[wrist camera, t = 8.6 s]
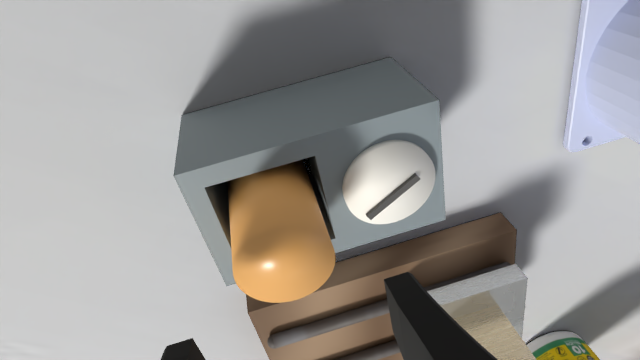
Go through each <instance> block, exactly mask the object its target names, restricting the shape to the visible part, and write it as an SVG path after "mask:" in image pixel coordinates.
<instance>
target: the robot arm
mask: <svg viewBox="0 0 640 360" xmlns="http://www.w3.org/2000/svg"><path fill="white" fill-rule="evenodd" d="M585 137H586V138H585ZM624 137H628V138H630V139H632V140H633V141H635V142H637V143H638V144H640V0H582V5H581V12H580V20H579V28H578V35H577V43H576V50H575V58H574V66H573V73H572V81H571V89H570V96H569V104H568V111H567V119H566V127H565V134H564V142H563V145H564V148H565V149H567V150H568V151H569V152H577V151H581V150H584V149H587V148H591V147H594V146H597V145H601V144H604V143H607V142H611V141H614V140H617V139H621V138H624ZM384 284H385V290H386V295H387V301H388V307H389V312H390V318H391V324H392V329H393V333H394V336H395V338H396V341H397V344H398V346H399V349H400V352H401V354H402V357H403V359H404V360H498V359H497V358H495V357H494V356H493V355H492V354H491V353H490V352H488V351H487V350H486V349H485V348H484V347H483V346H482V345H481V344H479V343H478V342H477V341H476V340H475V339H474V338H473V337H472V336H471V335H470V334H469V333H468V332H467V331H466V330H464V329H463V328H462V327H461V326H460V325H459V324H458V323H457V322H456V321H455V320H454V319H453V318H452V317H451V316H450V315H449V314H448V313H447V312H446V311H445V310H444V309H443V308H442V307H441V306H440V305H439V304H438V303H437V302H436V301H435V300H434V298H433V297H432V296H431V295H430V294H429V293H428V292H427V291H426V290H425V289H424V287H423V286H422V285H421V284H420V283H419V282H418V280H417V279H416V278H415V277H414V276H413V274H411V273H409V272H405V273H402V274H399V275H396V276H392V277H389V278H386V279H384ZM161 360H205V358H204V357H203V355H202V353H201V352H200V350H199V348H198V347H197V345H196V343H195V342H194V340H193V338H192V339H188V340H185V341H182V342H179V343H175V344H172V345H169V346H167V347H166V349H165V350H164V353H163V355H162V358H161Z"/></svg>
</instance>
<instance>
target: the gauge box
mask: <svg viewBox="0 0 640 360" xmlns="http://www.w3.org/2000/svg"><path fill="white" fill-rule="evenodd" d="M305 158H308V160H309V164H310V168H311V172H312V174H311V175H308V176H309V179H310V182H311V185H312V188H313V191H314V194H315V196H316V199H317V202H318V205H319V208H320V211H321V214H322V216H323V219H324V222H325V225H326V228H327V231H328V234H329V236H330V239H331V242H332V245H333V248H334V251H335V253H338V252H341V251H344V250H348V249H351V248H354V247H358V246H361V245H364V244H367V243H371V242H374V241H377V240H381V239H384V238H387V237H391V236H394V235H397V234H400V233H404V232H407V231H410V230H414V229H417V228H420V227H424V226H427V225H430V224H433V223H437V222H440V221H443V220H446V219H445V200H444V181H443V162H442V143H441V124H440V105H439V99H438V98H437V97H435V96H434V95H433V94H432V93H431V92H430V91H429V90H428V89H426V88H425V87H424V86H423V85H422V84H421V83H420V82H418V81H417V80H416V79H415V78H414V77H413V76H412V75H411V74H409V73H408V72H407V71H406V70H405V69H404V68H403V67H402V66H400V65H399V64H398V63H397V62H396V61H395V60H394V59H392V58H391V57H389V58H385V59H382V60H378V61H375V62H371V63H367V64H364V65H360V66H357V67H353V68H349V69H346V70H342V71H339V72H335V73H332V74H328V75H324V76H321V77H317V78H314V79H310V80H306V81H303V82H299V83H296V84H292V85H288V86H285V87H281V88H278V89H274V90H270V91H267V92H263V93H260V94H256V95H252V96H249V97H245V98H242V99H238V100H235V101H231V102H227V103H224V104H220V105H217V106H213V107H209V108H206V109H202V110H199V111H195V112H191V113H188V114H184V115H182V117H181V125H180V132H179V140H178V147H177V154H176V162H175V169H174V178H175V180H176V182H177V184H178V186H179V188H180V190H181V192H182V194H183V196H184V199H185V201H186V203H187V205H188V207H189V209H190V211H191V213H192V215H193V217H194V219H195V221H196V223H197V226H198V228H199V230H200V232H201V234H202V236H203V238H204V240H205V242H206V244H207V246H208V248H209V250H210V253H211V255H212V257H213V259H214V261H215V263H216V265H217V267H218V269H219V271H220V273H221V275H222V277H223V280H224V282H225V284H226V286H229V285H232V284H236V282H235V280H234V277H233V269H232V252H231V235H230V217H229V200H228V183H227V181H229V180H233V179H236V178H240V177H243V176H247V175H250V174H254V173H257V172H260V171H264V170H267V169H271V168H274V167H278V166H281V165H285V164H288V163H292V162H295V161H298V160H302V159H305Z"/></svg>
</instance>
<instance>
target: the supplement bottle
mask: <svg viewBox="0 0 640 360" xmlns="http://www.w3.org/2000/svg"><path fill="white" fill-rule="evenodd" d="M527 347H528V348H529V350H530V351H531V353H532V354H533V355H534V357H535V358H536V360H600V359H599V358H598V357H597V356H596V355H595V353H594V352H593V351H592V350H591V349H590V347H589V346H588V345H587V344H586V343H585V342H584V341H583V339H582V338H581V337H580V336H578V335H577V334H575V333H573V332H569V331H557V332H551V333H548V334H545V335H543V336H540V337H538V338H537V339H535V340H533V341H532V342H530V343H529V344H527Z"/></svg>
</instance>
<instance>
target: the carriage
mask: <svg viewBox="0 0 640 360" xmlns="http://www.w3.org/2000/svg"><path fill="white" fill-rule="evenodd" d="M527 279H528V278H527V277H526V275H525V274H524V273H523V272H522V271H521V269H520V268H519V267H518V266H517V265H516V264H513V265H510V266H507V267H504V268H500V269H497V270H494V271H491V272H488V273H484V274H481V275H478V276H475V277H472V278H468V279H465V280H462V281H459V282H456V283H452V284H449V285H446V286H443V287H440V288H436V289H433V290H430V291H427V292H428V293H429V294H430V295H431V296H432V297H433V298H434V300H435V301H436V302H437V303H438V304H439V305H440V306H441V307H442V308H443V309H444V310H445V311H446V312H447V313H448V314H449V315H450V316H451V317H452V318H453V319H454V320H455V321H456V322H457V323H458V324H459V325H460V326H461V327H462V328H463V329H464V330H466V331H467V332H468V333H469V334H470V335H471V336H472V337H473V338H474V339H475V340H476V341H477V342H478V343H479V344H481V345H482V346H483V347H484V348H485V349H486V350H487V351H488V352H490V353H491V354H492V355H493V356H494V357H495V358H497V359H498V360H536V358H535V357H534V355H533V354H532V353H531V351H530V350H529V348H528V347H527V345H526V344H525V343H524V341H523V340H522V331H523V320H524V310H525V300H526V289H527Z"/></svg>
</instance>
